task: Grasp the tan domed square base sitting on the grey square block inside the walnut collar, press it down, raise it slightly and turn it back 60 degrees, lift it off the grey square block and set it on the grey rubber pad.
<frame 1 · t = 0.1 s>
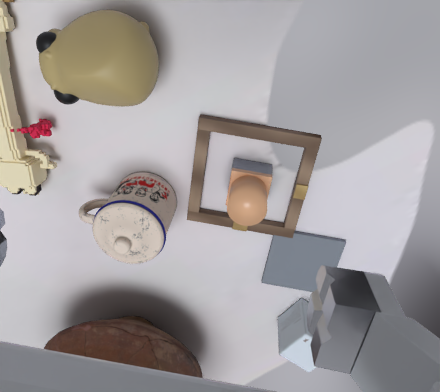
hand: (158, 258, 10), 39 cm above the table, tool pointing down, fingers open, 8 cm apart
grey square block: (249, 183, 51), in the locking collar
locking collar: (249, 178, 52), on the table
tan domed square base: (248, 188, 49), point 3 cm above the table, touching grey square block
pottery vessel: (137, 335, 70), on the table
cat figure: (18, 100, 50), on the table
toy pig: (118, 53, 46), on the table
product box: (303, 315, 63), on the table
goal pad: (301, 260, 58), on the table
teacup with lid: (137, 196, 55), on the table
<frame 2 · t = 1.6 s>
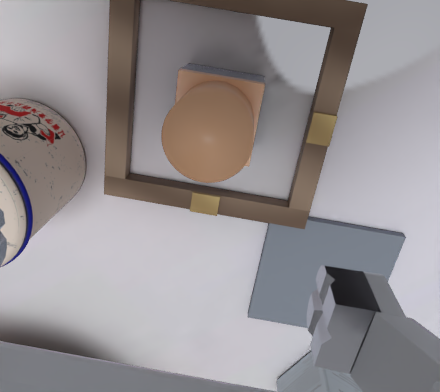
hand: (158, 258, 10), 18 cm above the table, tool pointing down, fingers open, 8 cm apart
grey square block: (218, 112, 25), in the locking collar
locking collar: (220, 107, 27), on the table
tan domed square base: (216, 117, 24), point 3 cm above the table, touching grey square block
product box: (321, 375, 36), on the table
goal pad: (320, 275, 32), on the table
teacup with lid: (14, 151, 30), on the table
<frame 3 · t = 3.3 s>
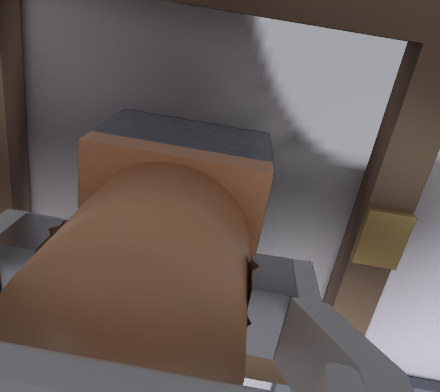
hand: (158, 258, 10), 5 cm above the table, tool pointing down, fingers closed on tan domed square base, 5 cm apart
grey square block: (181, 205, 13), in the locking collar
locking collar: (188, 188, 14), on the table
tan domed square base: (172, 226, 12), point 3 cm above the table, touching gripper, grey square block
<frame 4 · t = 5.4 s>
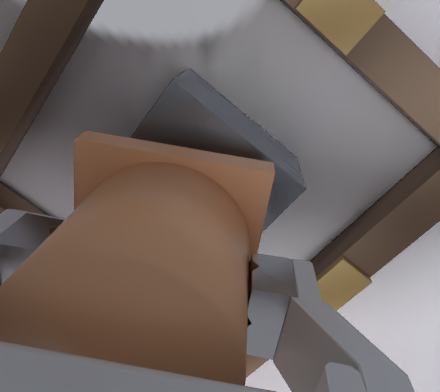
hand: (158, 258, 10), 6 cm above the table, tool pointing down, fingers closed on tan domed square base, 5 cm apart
grey square block: (197, 179, 14), in the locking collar
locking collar: (202, 164, 15), on the table
tan domed square base: (170, 228, 11), point 4 cm above the table, touching gripper
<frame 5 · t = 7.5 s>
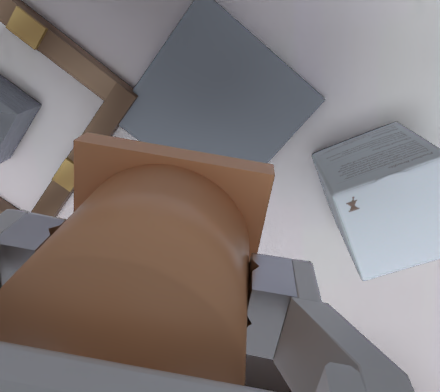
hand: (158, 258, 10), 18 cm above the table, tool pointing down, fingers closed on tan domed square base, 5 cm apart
tan domed square base: (170, 230, 11), point 16 cm above the table, touching gripper
product box: (364, 173, 28), on the table
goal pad: (216, 108, 26), on the table
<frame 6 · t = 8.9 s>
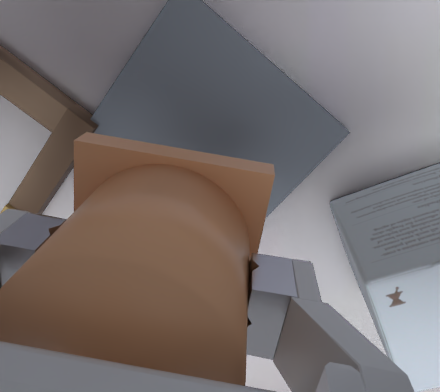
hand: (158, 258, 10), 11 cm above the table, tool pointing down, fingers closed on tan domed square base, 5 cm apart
tan domed square base: (170, 230, 11), point 9 cm above the table, touching gripper
product box: (398, 226, 21), on the table
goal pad: (203, 141, 20), on the table
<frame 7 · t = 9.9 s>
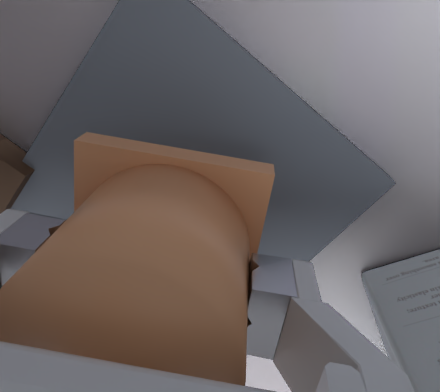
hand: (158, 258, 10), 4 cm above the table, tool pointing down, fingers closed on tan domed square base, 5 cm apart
tan domed square base: (170, 230, 11), point 3 cm above the table, touching gripper
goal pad: (184, 191, 14), on the table
when the fingers open (3 cm above the table, at t = 10.6 s): tan domed square base drops 1 cm, resting on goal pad.
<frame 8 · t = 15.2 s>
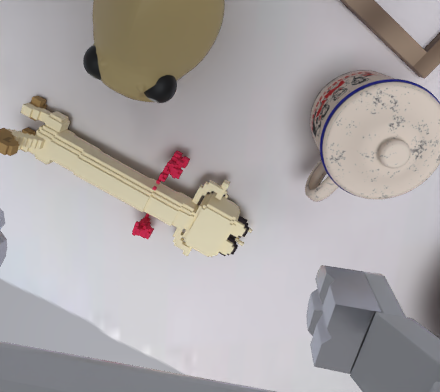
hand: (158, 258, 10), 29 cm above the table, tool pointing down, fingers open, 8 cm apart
cat figure: (144, 175, 41), on the table
toy pig: (167, 20, 35), on the table
teacup with lid: (344, 129, 37), on the table
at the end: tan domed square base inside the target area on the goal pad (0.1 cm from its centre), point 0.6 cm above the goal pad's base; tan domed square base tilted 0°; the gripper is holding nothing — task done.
